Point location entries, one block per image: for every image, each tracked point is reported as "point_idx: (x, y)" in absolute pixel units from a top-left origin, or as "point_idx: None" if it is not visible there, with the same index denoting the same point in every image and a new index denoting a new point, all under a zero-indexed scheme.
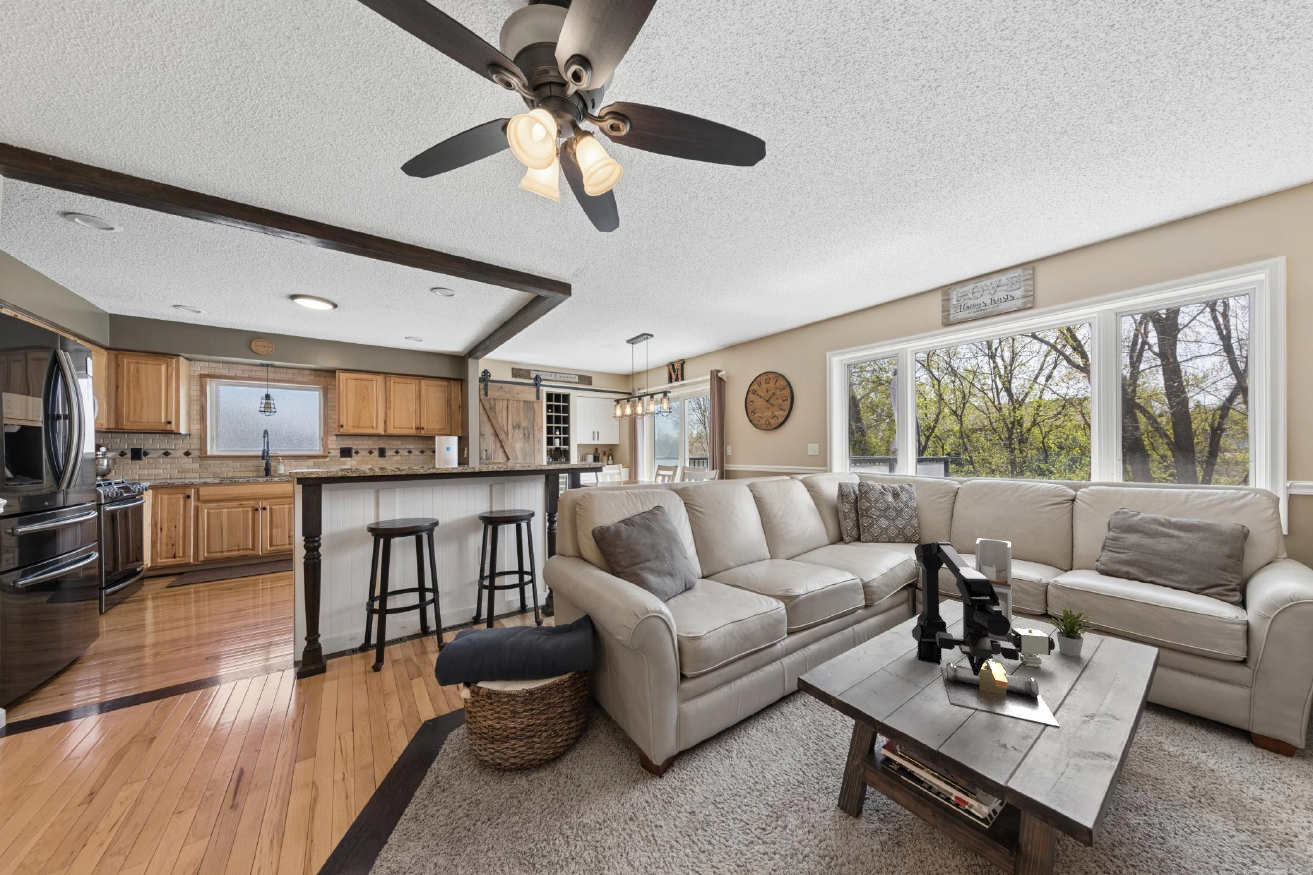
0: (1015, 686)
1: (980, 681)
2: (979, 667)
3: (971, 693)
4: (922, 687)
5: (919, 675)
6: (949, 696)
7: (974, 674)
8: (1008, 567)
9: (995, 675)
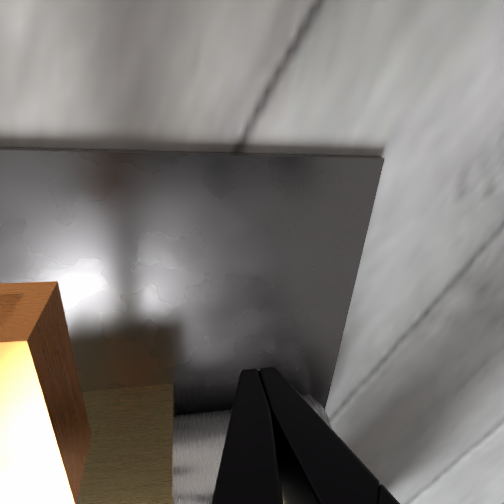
0: None
1: (168, 424)
2: (245, 479)
3: (226, 323)
4: (462, 279)
5: (425, 380)
6: (362, 235)
7: (277, 373)
8: None
9: (32, 441)
